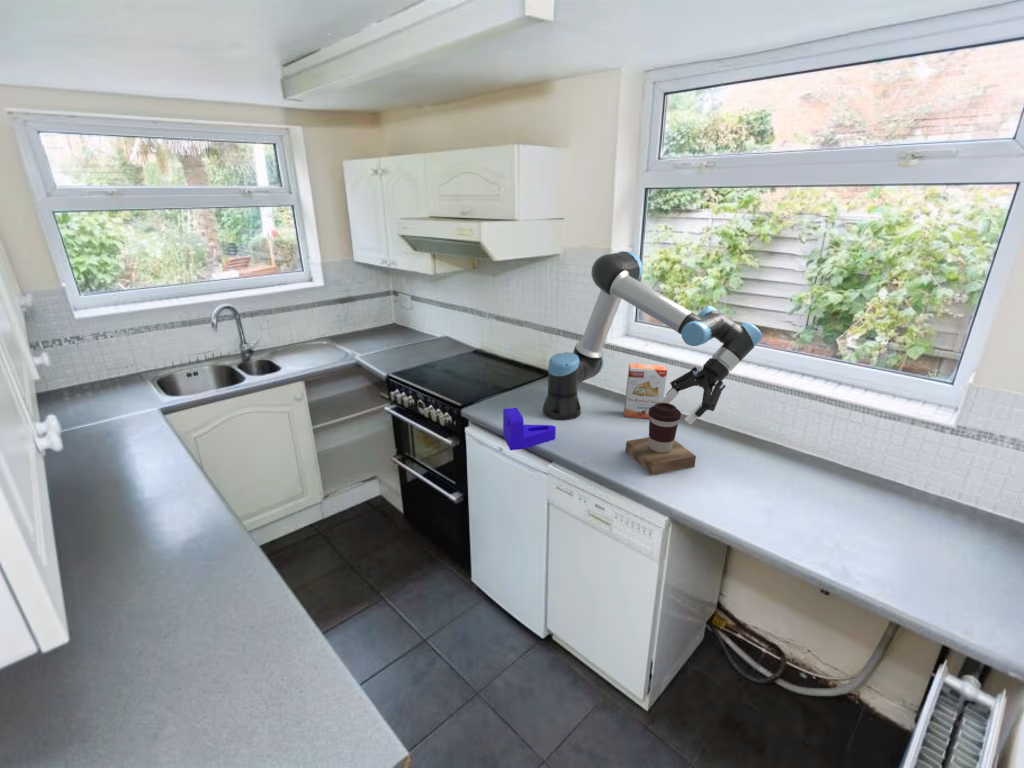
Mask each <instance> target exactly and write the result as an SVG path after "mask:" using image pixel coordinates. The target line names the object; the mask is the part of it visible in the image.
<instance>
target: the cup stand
mask: <svg viewBox="0 0 1024 768" xmlns="http://www.w3.org/2000/svg"><path fill="white" fill-rule="evenodd" d="M625 452H626V453H627V454H628V455H629V456H630V457H631V458H632V459H634V460H635V462H637V463H638V464H639V465H640V466H641V467H642V468H643V469H644V470H645V471H646V472H647V473H649V474H650V475H651V476H654V475H659V474H664V473H670V472H674V471H681V470H686V469H690V468H695V465H696V461H697V460H696V458H697V455H695V454H694V453H693V452H692V451H690V450H689V449H688V448H686V447H684V446H683V445H682V444H681V443H679V442H678V441H676V439H674V441H673V445H672V449H671V451H669V452H667V453H659V452H655V451H653V450H652V449H650V447H649V436H647V437H642V438H636V439H631V440H630V439H629V440H626V442H625Z"/></svg>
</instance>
